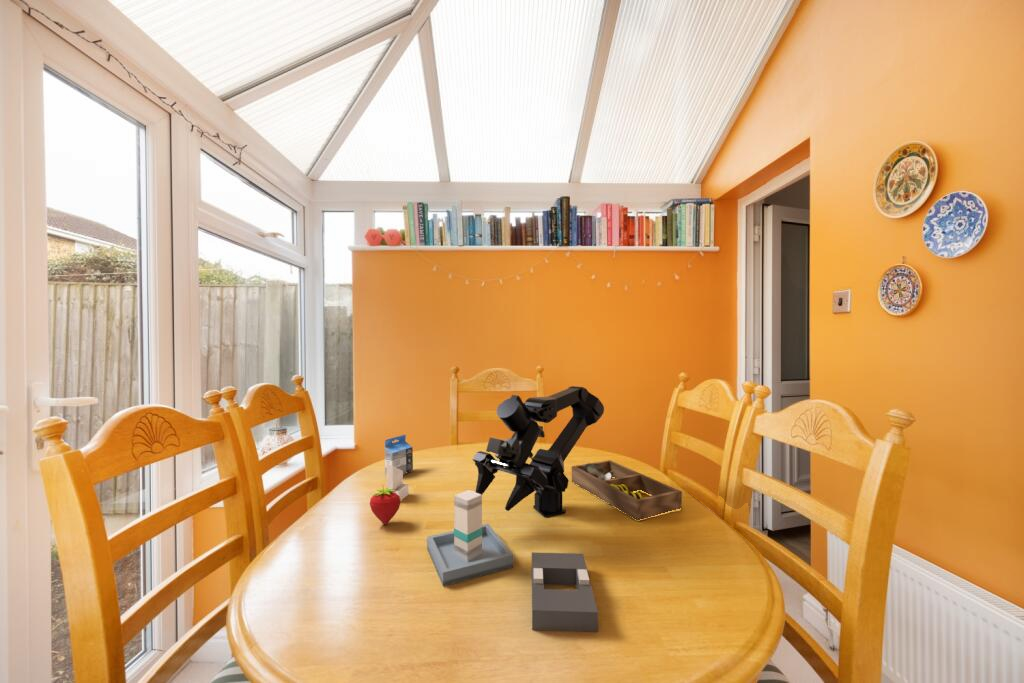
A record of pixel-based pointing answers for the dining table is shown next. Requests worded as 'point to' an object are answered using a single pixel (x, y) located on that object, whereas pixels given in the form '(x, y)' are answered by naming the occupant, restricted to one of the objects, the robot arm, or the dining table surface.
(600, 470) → the eagle figurine
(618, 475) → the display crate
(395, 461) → the label tape box
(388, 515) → the strawberry
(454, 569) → the tray
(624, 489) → the yellow coil spring
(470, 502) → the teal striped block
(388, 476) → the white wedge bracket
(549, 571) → the block
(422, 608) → the dining table surface
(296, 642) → the dining table surface
